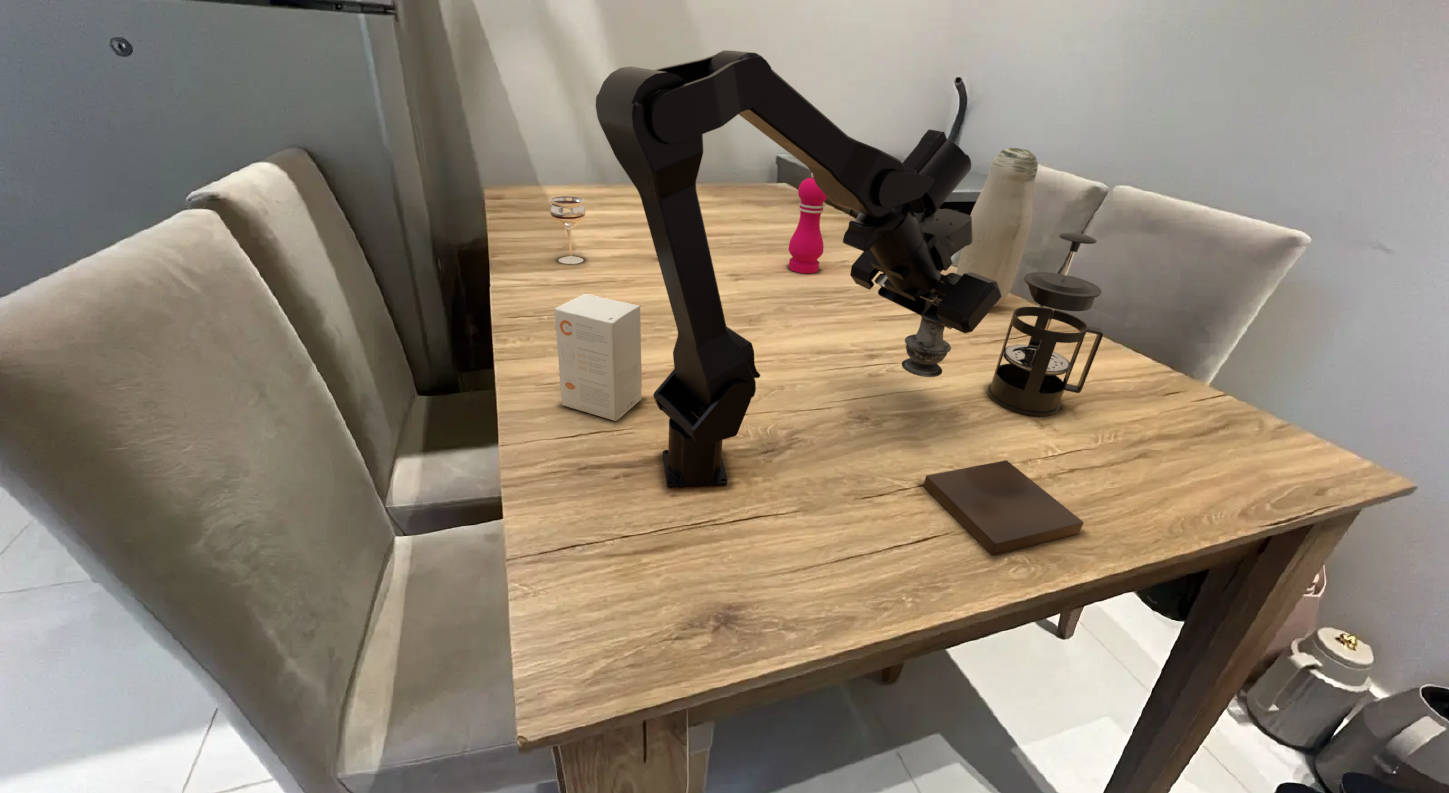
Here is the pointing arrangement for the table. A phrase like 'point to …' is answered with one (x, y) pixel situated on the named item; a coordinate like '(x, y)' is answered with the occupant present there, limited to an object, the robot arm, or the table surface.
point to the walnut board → (1002, 506)
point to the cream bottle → (1002, 219)
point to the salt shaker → (926, 348)
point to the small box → (599, 355)
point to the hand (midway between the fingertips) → (940, 320)
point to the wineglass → (568, 219)
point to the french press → (1046, 342)
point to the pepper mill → (808, 229)
